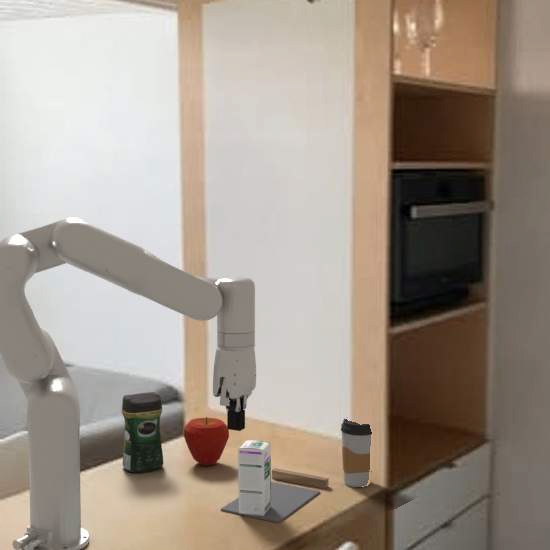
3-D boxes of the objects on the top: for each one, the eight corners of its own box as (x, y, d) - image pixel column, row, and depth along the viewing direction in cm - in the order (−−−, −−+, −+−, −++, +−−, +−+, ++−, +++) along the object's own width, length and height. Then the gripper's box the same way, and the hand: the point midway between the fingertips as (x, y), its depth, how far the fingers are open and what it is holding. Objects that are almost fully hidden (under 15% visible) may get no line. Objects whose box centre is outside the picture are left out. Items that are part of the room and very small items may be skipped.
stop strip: (325, 488, 202) (325, 480, 202) (271, 478, 208) (271, 470, 208) (328, 486, 203) (328, 478, 203) (274, 476, 210) (275, 468, 209)
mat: (278, 523, 182) (278, 521, 182) (220, 510, 188) (220, 508, 188) (319, 492, 199) (320, 491, 199) (265, 482, 206) (265, 480, 206)
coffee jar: (155, 460, 221) (155, 387, 218) (167, 469, 214) (166, 395, 212) (118, 465, 216) (117, 392, 214) (128, 475, 209) (127, 399, 207)
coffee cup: (382, 485, 204) (384, 422, 202) (353, 492, 200) (355, 427, 198) (360, 475, 211) (362, 414, 210) (332, 481, 207) (333, 418, 205)
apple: (174, 464, 218) (174, 416, 216) (206, 454, 226) (206, 408, 224) (206, 474, 210) (206, 425, 209) (237, 463, 218) (237, 416, 217)
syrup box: (264, 516, 184) (265, 449, 182) (237, 513, 185) (237, 446, 184) (271, 506, 190) (272, 441, 188) (245, 503, 191) (245, 438, 189)
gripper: (238, 332, 184) (238, 417, 186) (199, 344, 170) (200, 436, 173) (270, 335, 180) (270, 422, 182) (233, 347, 167) (233, 441, 169)
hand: (236, 428), depth 177 cm, fingers closed
